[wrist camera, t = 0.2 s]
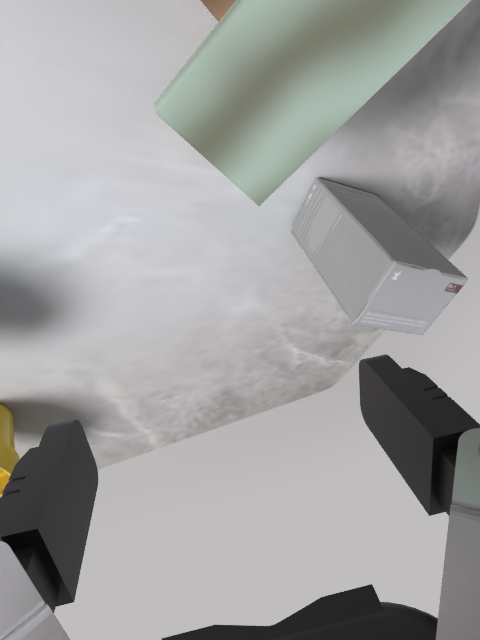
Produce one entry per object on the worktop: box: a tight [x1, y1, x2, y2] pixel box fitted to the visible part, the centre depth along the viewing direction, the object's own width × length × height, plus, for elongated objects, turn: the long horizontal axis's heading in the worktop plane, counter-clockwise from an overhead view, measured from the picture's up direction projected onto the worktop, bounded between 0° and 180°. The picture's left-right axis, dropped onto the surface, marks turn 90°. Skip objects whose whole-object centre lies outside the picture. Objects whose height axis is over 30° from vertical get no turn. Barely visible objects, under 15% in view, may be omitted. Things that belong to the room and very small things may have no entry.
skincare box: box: [291, 178, 468, 335], centre depth 39 cm, size 8×7×16 cm
